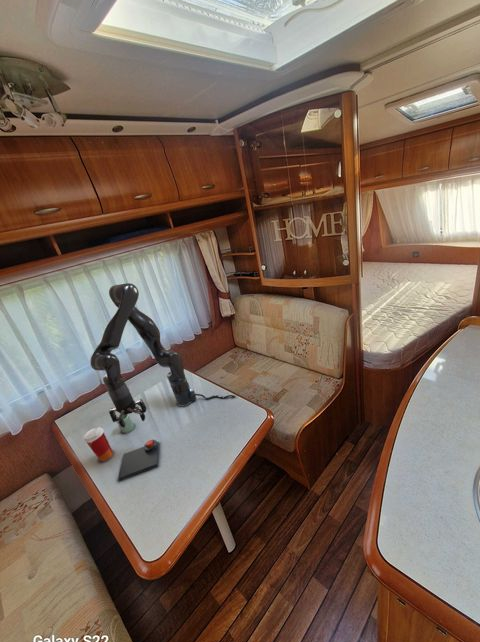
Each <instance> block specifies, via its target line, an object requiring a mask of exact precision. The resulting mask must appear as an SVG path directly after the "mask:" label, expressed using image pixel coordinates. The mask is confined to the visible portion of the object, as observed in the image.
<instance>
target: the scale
mask: <svg viewBox="0 0 480 642" xmlns="http://www.w3.org/2000/svg"><path fill="white" fill-rule="evenodd" d="M151 440H152V441H153V443H154V444H153V446H152V447H149V448H148V447H147V446H146V443H145V444H144V445H143V446H141V447H139V448H136V449H133V450H130V451H128V452H124V453H123V455H122V459H121V464H120V468H119V469H120V470H119V474H118V477H117V479H118V481H119V482H120V481H123V480H126V479H129V478H130V477H131V478H132V477H134V476H136V475H140V474H142V473H144V472H147V471H150V470H153V469H156V468H158V467H159V456H160V442H159V441H157V440H156V439H151Z"/></svg>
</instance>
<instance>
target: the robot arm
mask: <svg viewBox="0 0 480 642" xmlns="http://www.w3.org/2000/svg"><path fill="white" fill-rule="evenodd" d="M108 296H109V299H110V301H111V303H112V304H114V306H116V308H117V310H116V312H115V313H114V315H113V316H112V317H111V318H110V319H109V321H108V322H107V324H106V325H105V328H104V329H103V332H102V336H101V339H100V342H99V344H98V345H96V348H95V350H93V353H92V354H91V356H90V360H89V363H90V364H89V365H90V367H91V368H92V370H95V371H98V372H100V371H102V372H103V371H105V373H106V374H105V375H104V376H103V377H102V382H103V384H104V386H105V388H106V390H107V393H108V396H109V397H110V400H111V401H112V404H113V406H114V407H115V408H113V407H111V408H110V409H109V411H108V413H109V416H110V418H111V420H112V422H113V423H117V421H118V422H119V424H120V426H121V427H123V428H124V427H125V425H126V424H125V422H124V420H123V418H122V416H123V415H127V414H128V415H130V414H133V413H134V414H137V415H139V418H140V419H141V422H145V420H146V414H145V413H146V412H147V406H146V404H145V402H144V401H143V399H142V398H140V399H139V400H137V401H135V399H134V398H133V395H132V393H131V391H130V388H129V387H128V385H127V383H126V382H125V380H124V378H123V376H122V373H121V372H122V370H121V365H120V360H119V358H118V356H117V355H116V354H114V353H111V352H112V351H115V350H117V349H118V348H119V346H120V344H121V340H122V337H123V334H124V330H125V328H126V325H127V323H128V322H129V324H130V325H131V326H132V327H133V328H134V330H135V331H136V333H137V334H138V336H139V337H140V339H142V340H143V342H144V344H145V345H146V346H147V348H148V349H149V351H150V352H151V354H152V356H153V357H154V359H155V361H156V362H157V364H158V365H159V366H160V367H161V368H165V369H169V370H170V371H169V372H167V374H166V378H167V381H168V384H169V385H170V388H171V390H172V393H173V395H174V399H175V401H176V404H177V406H179V407H186V406H188V405H190V404H191V403H193V402H194V400H196V399H197V397H201V398H203V399H204V398H206V399H205V400H211V399H214V398H219V399H228V398H233V399H234V398H236V395H233V394H228V395H225V396H221V397H218V396H219V395H216V396H215V395H212V396H210V397H206V395H204V394H202V393H201V394H200V393H196V392H195V390H192V389H191V386H190V383H189V382H188V379H187V376H186V374H185V368H184V367H185V366H184V364H183V360H182V357H181V355H180V353H179V352H178V351H177V350H167V349H166V348H165V347H164V346H163V344H162V342H161V331H160V329H159V327H158V326H157V324H156V323H155V321H154V320H153V319H152V318H151V317H150V316H149V315H147V314H146V313H143V311H141V310H140V309H138V308H137V306H136V304H137V302H138V300H139V296H140V293H139V289H138V287H137V286H136V285H135V284H133V283H131V282H129V283H128V282H127V283H121V284H114V285H112V286H110V287H109V289H108ZM230 396H231V397H230ZM223 397H224V398H223ZM116 412H117V413H119V415H118V416H117V414H116Z"/></svg>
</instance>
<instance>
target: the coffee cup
mask: <svg viewBox="0 0 480 642" xmlns="http://www.w3.org/2000/svg"><path fill="white" fill-rule="evenodd" d="M83 441H84V442H85V443H86V444H87V445H88V447H89V448H90V449H91V452H92V453H94V455H95V457H97V459H98V460H99V462H106V461H108V460H110V458H112V457H113V456H114V451H113V450H112V447H111V445H110V443H109V441H108V438H107V436H106V434H105V430H104V428H101V427H95V428H91V429H90V430H88V431H87V432H86V433H85V434H84V436H83Z"/></svg>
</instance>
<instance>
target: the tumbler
mask: <svg viewBox="0 0 480 642" xmlns="http://www.w3.org/2000/svg"><path fill="white" fill-rule="evenodd" d="M122 418H123V420H124V422H125V424H126V425H125V427H124V428H123V427H121V426H120V424H119V422H118V421H116V423H117V425H118V427H119V429H120V430H121V432H122V433H123V434H128V433H130V432H132V430H133V429H135V425H134V423H133V420H132V418H131V416H130V414H127V415H123V416H122Z"/></svg>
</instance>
